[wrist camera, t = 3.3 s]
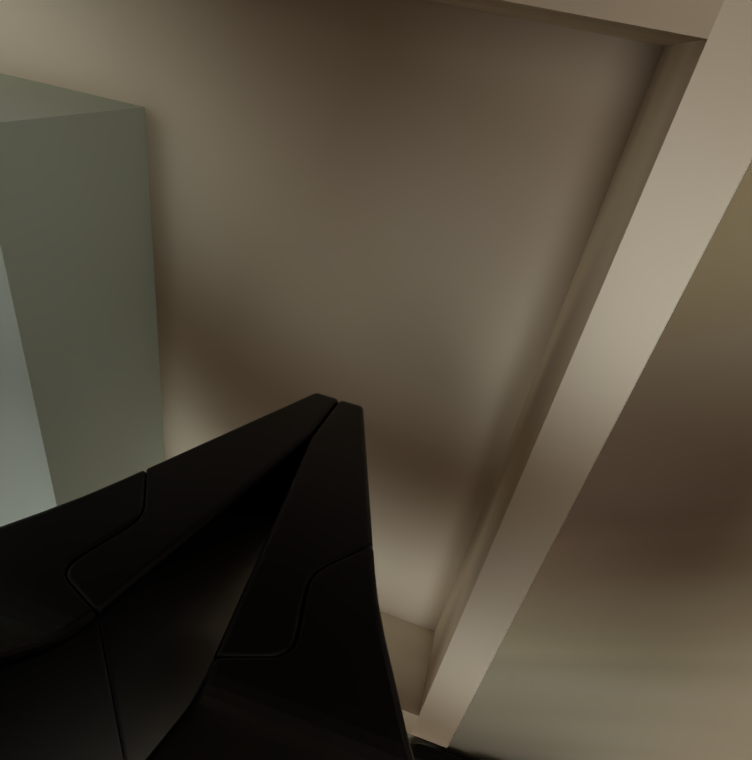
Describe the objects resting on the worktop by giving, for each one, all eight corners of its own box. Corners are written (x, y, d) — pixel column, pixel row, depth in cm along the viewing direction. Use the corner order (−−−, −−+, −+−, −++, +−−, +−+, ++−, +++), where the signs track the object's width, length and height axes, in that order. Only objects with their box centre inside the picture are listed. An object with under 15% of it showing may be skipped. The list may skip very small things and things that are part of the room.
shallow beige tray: (461, 642, 14) (446, 748, 11) (-74, 454, 16) (-168, 514, 14) (758, -20, 6) (865, -62, 4) (-321, -206, 8) (-608, -295, 6)
